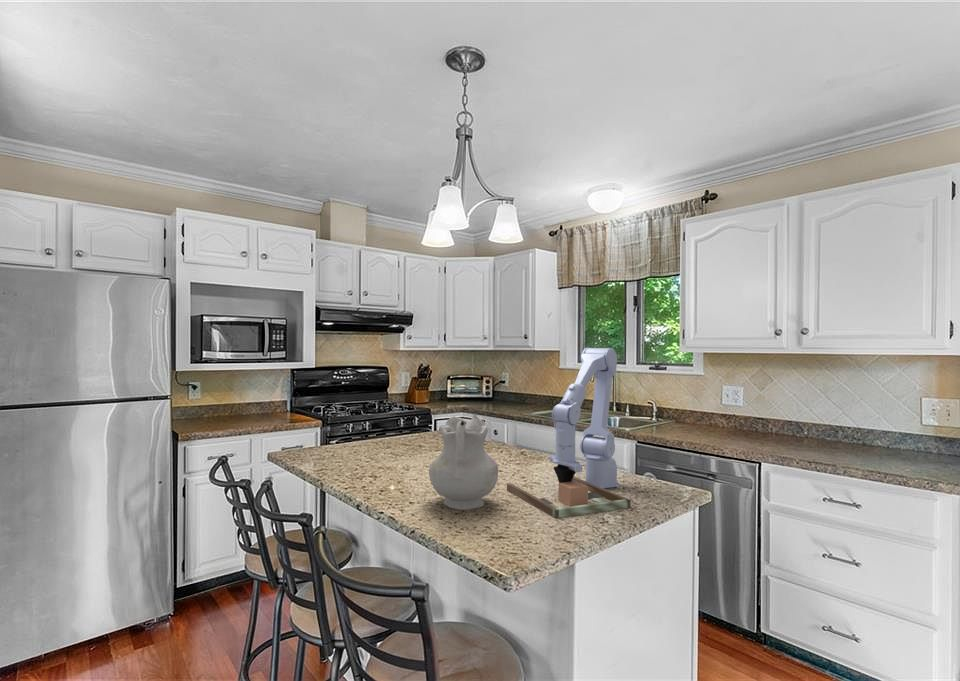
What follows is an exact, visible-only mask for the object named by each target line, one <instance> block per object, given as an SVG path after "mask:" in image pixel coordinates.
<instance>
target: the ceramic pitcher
mask: <svg viewBox="0 0 960 681" xmlns="http://www.w3.org/2000/svg"><path fill="white" fill-rule="evenodd" d="M484 420H485V418H483V417H482V416H481V415H477V414H473V415H472V418H471V419H470V420H469V421H468V420H465V419H464V418H462V417H458V416H455V415H453V416H451V417H450V418H448V419H447V421H446V422H445V424H444V425H439V428H438V429H439V433H440V435H441V436H442V441H443V447H442V450H441V452H440V453H439V454H438V455H437V456H436V457H435V458H434V459H432V461H431V463H430V466H429V468H428V475H429V480H430V483H431V486H432V488H433V489H434V490H435V491H436V493H437V495H439V496H442V497H444V498H445V499H444V500H443V501H442V503H441V504H442V505H444V506H445V507H448V508H450V509H453V510H463V511H464V510H466V511H471V510H475V509H479V508H482V507H484V505H485V501H484V499H483V498H484V497H486V496H488V495H489V494H491V493H492V491H493V490H494V489H495V487H496V484H497V482H498V479H499V478H498V477H499V467H498V463H497V461H496V459H494V458H493V457H491V455H489V454H488V453H487V451H486V450H485V440H486V438H487V434H488V432H489V430H490V428H489V427H488V425H486V423H485V421H484Z"/></svg>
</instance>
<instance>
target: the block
mask: <svg viewBox="0 0 960 681" xmlns="http://www.w3.org/2000/svg"><path fill="white" fill-rule="evenodd" d="M588 493H589V491H588V486H586V485H584V484H582V483H579V482H577V481H573V482H564V483H559V482H558V501H559V502H560V503H562V504H564V505H567V507H571V506H578V505H586V504H589V499H588Z"/></svg>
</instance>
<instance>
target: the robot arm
mask: <svg viewBox="0 0 960 681" xmlns="http://www.w3.org/2000/svg"><path fill="white" fill-rule="evenodd" d="M580 363H581V366H580V369H579V371H578V374H577V376H576V378H575V382H574V383H570V384H569V386H568V387H567V389H566V391H565V393H564V395H563V396H562V399H561V401H560V403H558V404H556V405H555V406H554V407H553V409H552V413H551V419H552V421H553V427H554V429H555V454H551V455H549V462H551V463H552V464H554V465H557V466H553V471H554V472H555V474H556V478H557V480H558V484H559V483H564V482H572V479H573V477H575V474H576V473H582V472H583V464H581V463H579V462H578V461H577V460H576V424H578V422H579V421H580V418H581V410H582V408H581V406H582V404H583V401H584V400H585V398H586V396H587V390H586V388H587V386H588V385H589V383H590V381H591V380H592V378H593V376H594V377H595V386H594V396H593V402H592V409H591V410H592V411H591V412H592V413H591V420H590V426H588V427H587V428H586V429H584V430H583V433H582V437H581V439H580V442H579V449H580V452H581V454H582V455H583V458H585V481H586V482H589V483H591V484H593V485H596V486H598V487H600V488H603V489H608V488H617V487H619V484H617V483H618V477H617V476H618V465H617V461H616V460H615V458H614V457H613V456H614V454H615V450H616V444H615V434H614V433H613V432H612V431H611V430H610V429H608V420H609V411H610V403H611V394H612V393H611V392H612V385H613V377H614V375H616V374H617V372H616V371H617V363H618V355H617V353H616V351H615V349H614V348H612V347H607V348H605V347H601V348H600V347H598V348H597V347H585V348H584V349H583V350H582V352H581V355H580ZM598 436H599V437H598Z"/></svg>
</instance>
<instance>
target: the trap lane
mask: <svg viewBox="0 0 960 681" xmlns="http://www.w3.org/2000/svg"><path fill="white" fill-rule="evenodd" d="M573 481H577V482H579V483H582V484H584V485H586V486H588V500H590V499H591V501H594V503H588V504H586V505H578V506H564V507H559V506H558V505H556V504H554V503H553V501H550V500H548V499H547V498H545V497H542V498H538V497H537V496H535V495H533V494H532V493H530V492H527V491H525V490H524V489H522V488H520V487H519V486H517V485H515V484H513V483H511V482H507V483H506V491H508V492H509V493H512V494H513V495H515V496H516V497H518V498H520V499H522V500H523V501H525V502H526V503H528V504H530V505H532V506H533V507H535V508H537V509H539V510H540V511H542V512H544V513H546V514H547V515H549V516H551V517H552V518H554V519H557V518H565V517H572V516H579V515H580V516H581V515H586V513H587V514H593V512H594V513H600V511H601V512H607V511H613V510H614V511H615V510H621V509H629V508H631V503H632V502H631V499H629V498H626V497H624V496H622V495H619V494H617V493H615V492H612V491H610V490H607V489H606V488H600V487H598V486H596V485H593V484H591V483H589V482H586V480H584V479H581V478H579V477H578V476H577V477H576V476H574V477H573V479H572V482H573Z"/></svg>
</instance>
